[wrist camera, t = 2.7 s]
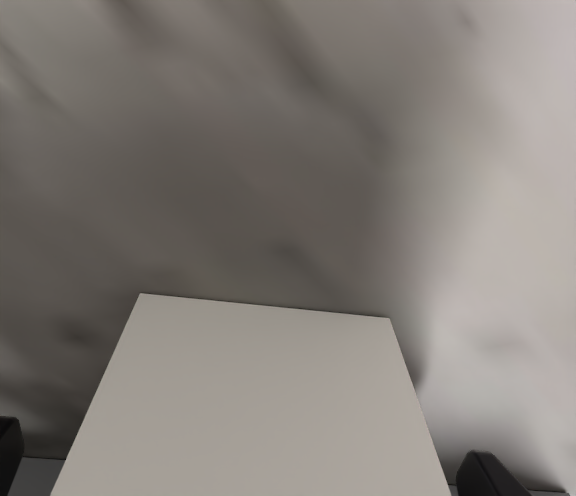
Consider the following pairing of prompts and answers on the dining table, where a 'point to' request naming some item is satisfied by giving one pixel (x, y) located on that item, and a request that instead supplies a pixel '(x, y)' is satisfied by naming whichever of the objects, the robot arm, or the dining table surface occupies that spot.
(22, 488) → the power strip
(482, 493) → the robot arm
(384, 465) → the block
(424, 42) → the dining table surface
